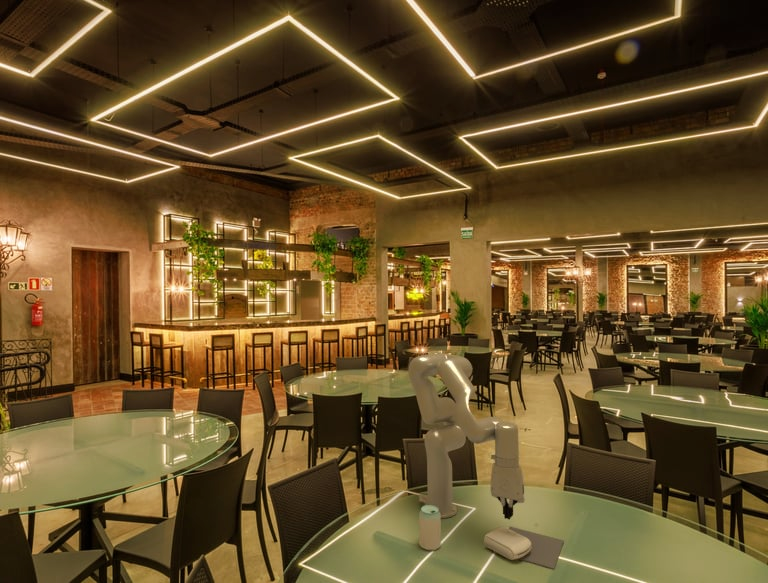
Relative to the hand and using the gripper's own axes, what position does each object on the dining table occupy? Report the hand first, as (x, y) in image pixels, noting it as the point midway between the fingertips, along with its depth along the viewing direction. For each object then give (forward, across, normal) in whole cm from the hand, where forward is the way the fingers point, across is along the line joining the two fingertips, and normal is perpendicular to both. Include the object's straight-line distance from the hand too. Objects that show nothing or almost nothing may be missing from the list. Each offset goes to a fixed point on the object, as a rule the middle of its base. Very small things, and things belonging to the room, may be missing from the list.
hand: (508, 517), depth 143 cm
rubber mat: (+9, +6, +3) cm, 12 cm away
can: (+9, -22, -13) cm, 27 cm away
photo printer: (+7, -5, -1) cm, 8 cm away
